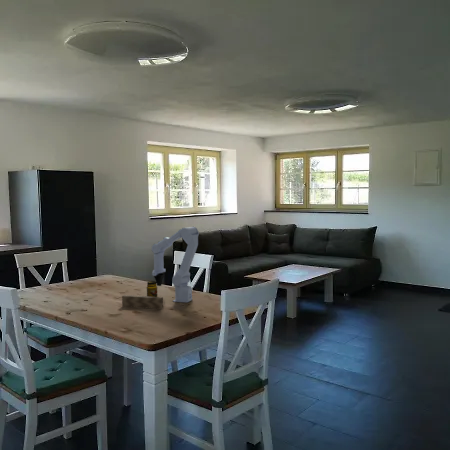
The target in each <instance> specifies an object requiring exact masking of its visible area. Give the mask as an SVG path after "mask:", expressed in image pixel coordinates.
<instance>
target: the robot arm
mask: <svg viewBox="0 0 450 450" xmlns="http://www.w3.org/2000/svg"><path fill="white" fill-rule="evenodd" d="M199 234H200V232H199V231H198V228H197V227H196V226H188V227H182V228H180V229H178V230H177V231H176V232H175V233H174V234H172V235H171V236H170V237H169V236H168V237H167V236H165V237H163V239H162V240H160V241H158V242H157V243H154V244H152V246H151V251H152V253H153V270H152V272H151V276H152V277H154V281H156V284H157V285H156V286H157V287H161V286H162V284H163V280H164V277H165V275H166V274H165V273H166V268H164V265H165V263H164V255H165V251H166V250H167V249H169V248H170V247H172V246H173V243H174V242H176V241H177V240H179V239H181V238H182V240H183V241H184V242H185V243H186V244H187V246H186V249H185V252H184V254H183V255H184V256H183V259H182V261H181V264H180V266H179V269H178V270H176V271H175V272H176V273H175V274H174V276H172V280H171V281H172V285H174V298H175V299H173V300H172V302H175V303H189V302H190V301H192V300H193V289H192V286H189V283H190V280H191V279H190V277H191V272H190V268H191V265H192V263H193V261H194V257H195V255H196V252H197V249H198V246H199Z"/></svg>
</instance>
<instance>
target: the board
mask: <svg viewBox="0 0 450 450" xmlns="http://www.w3.org/2000/svg"><path fill="white" fill-rule="evenodd" d="M121 297H122V298H121V301H122V302H121V303H122V304H121V305H122V307H123V308H124V307H125V308H136V309H137V308H141V309H151V310H152V309H154V310H163V309H164V297H163V296H162V297H161V296H157V297H149V296H147V295H146V296H144V295H132V294H131V295H129V294H123V295H121Z"/></svg>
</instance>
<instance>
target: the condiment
mask: <svg viewBox="0 0 450 450" xmlns="http://www.w3.org/2000/svg"><path fill="white" fill-rule="evenodd" d="M146 296H149V297H158V286H157V283H156V280H151V281H150V280H149V281H147V286H146Z"/></svg>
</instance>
